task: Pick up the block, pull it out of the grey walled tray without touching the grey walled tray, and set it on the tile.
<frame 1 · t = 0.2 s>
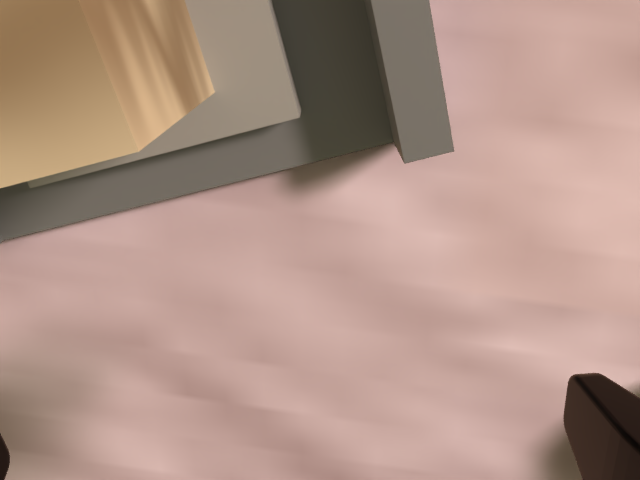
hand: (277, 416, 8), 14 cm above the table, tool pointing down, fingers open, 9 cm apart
grey walled tray: (129, 2, 19), on the table
block: (115, 34, 17), point 2 cm above the table, touching grey walled tray
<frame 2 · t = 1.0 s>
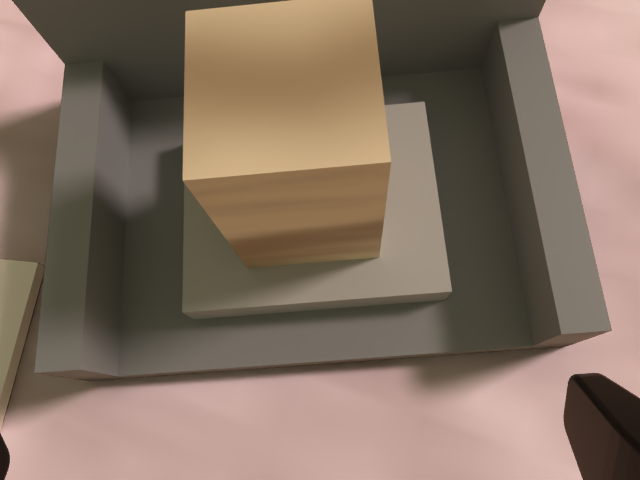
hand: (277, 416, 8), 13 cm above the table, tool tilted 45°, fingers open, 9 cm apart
grey walled tray: (313, 202, 24), on the table
block: (309, 201, 21), point 2 cm above the table, touching grey walled tray
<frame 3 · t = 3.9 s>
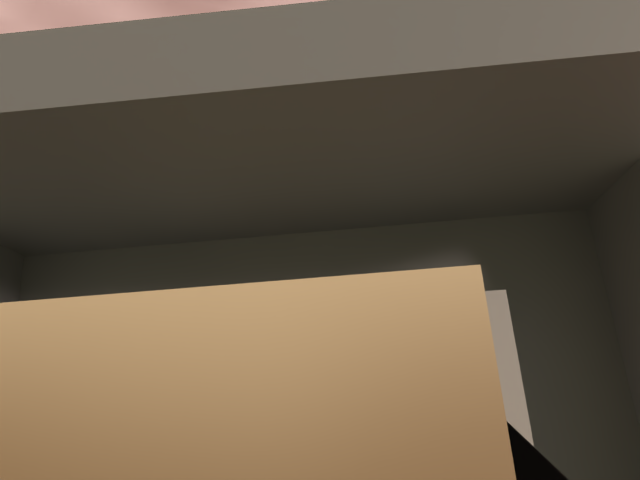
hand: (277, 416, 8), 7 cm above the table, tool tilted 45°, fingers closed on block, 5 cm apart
grey walled tray: (312, 435, 15), on the table
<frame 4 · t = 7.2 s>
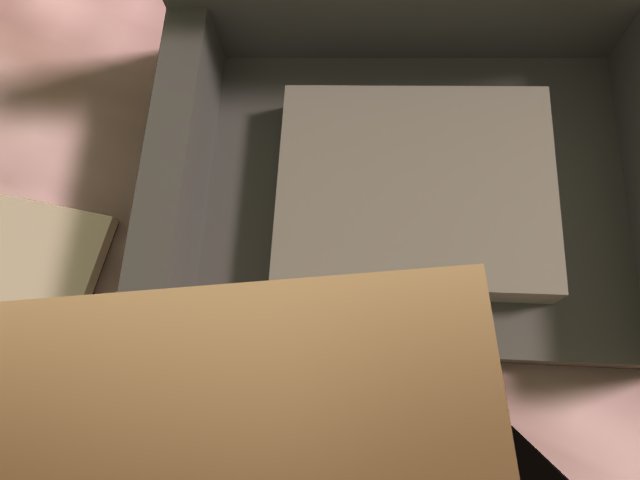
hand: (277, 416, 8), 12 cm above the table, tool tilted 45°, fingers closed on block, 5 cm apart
grey walled tray: (408, 184, 22), on the table
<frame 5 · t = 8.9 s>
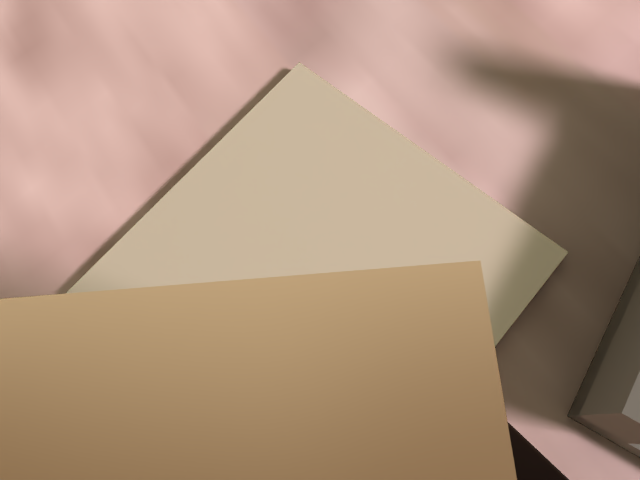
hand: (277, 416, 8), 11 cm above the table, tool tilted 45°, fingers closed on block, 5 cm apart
tile: (313, 277, 20), on the table
when the fingers open (6 cm above the table, at t = 10.6 s): block drops 2 cm, resting on tile.
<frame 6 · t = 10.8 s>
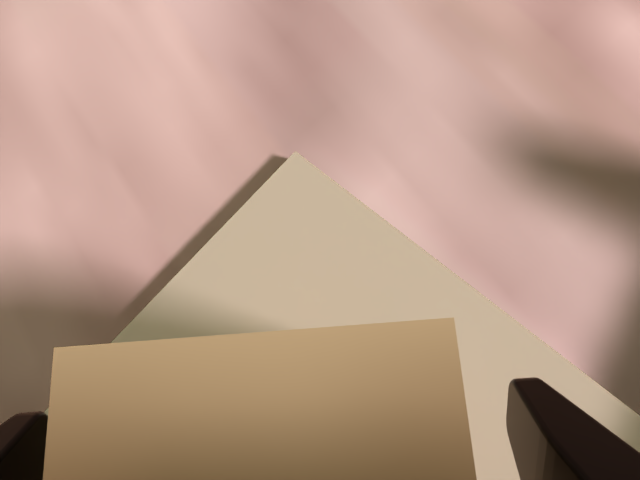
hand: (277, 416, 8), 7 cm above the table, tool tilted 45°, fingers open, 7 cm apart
tile: (314, 475, 14), on the table
block: (313, 476, 14), point 1 cm above the table, touching tile
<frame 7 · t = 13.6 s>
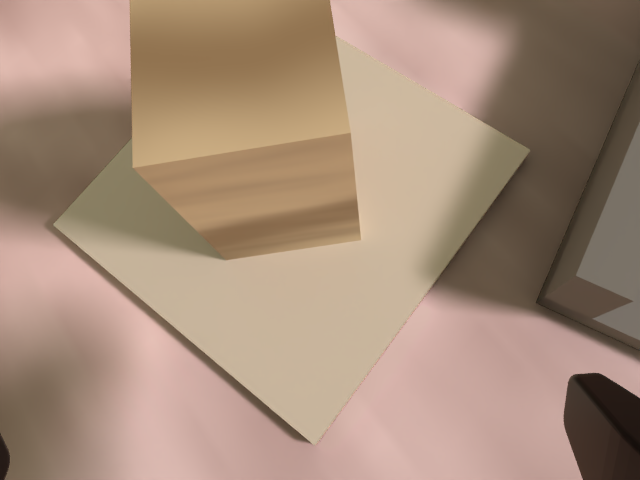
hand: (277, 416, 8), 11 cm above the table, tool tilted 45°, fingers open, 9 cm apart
tile: (287, 194, 21), on the table
block: (286, 187, 21), point 1 cm above the table, touching tile
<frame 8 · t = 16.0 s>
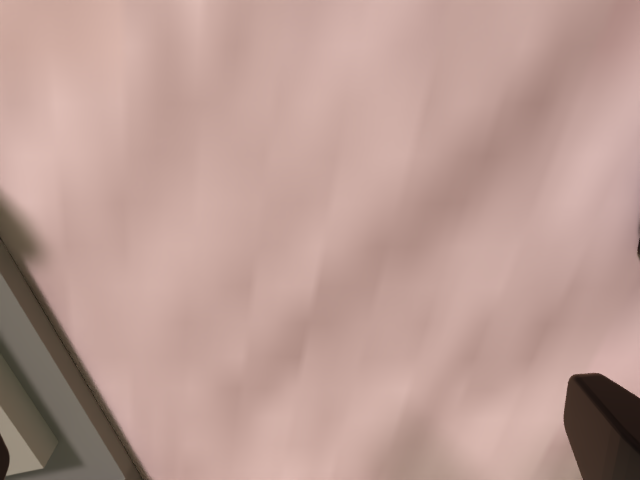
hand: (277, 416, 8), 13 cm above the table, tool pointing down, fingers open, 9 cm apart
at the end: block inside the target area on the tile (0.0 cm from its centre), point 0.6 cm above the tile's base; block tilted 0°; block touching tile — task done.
